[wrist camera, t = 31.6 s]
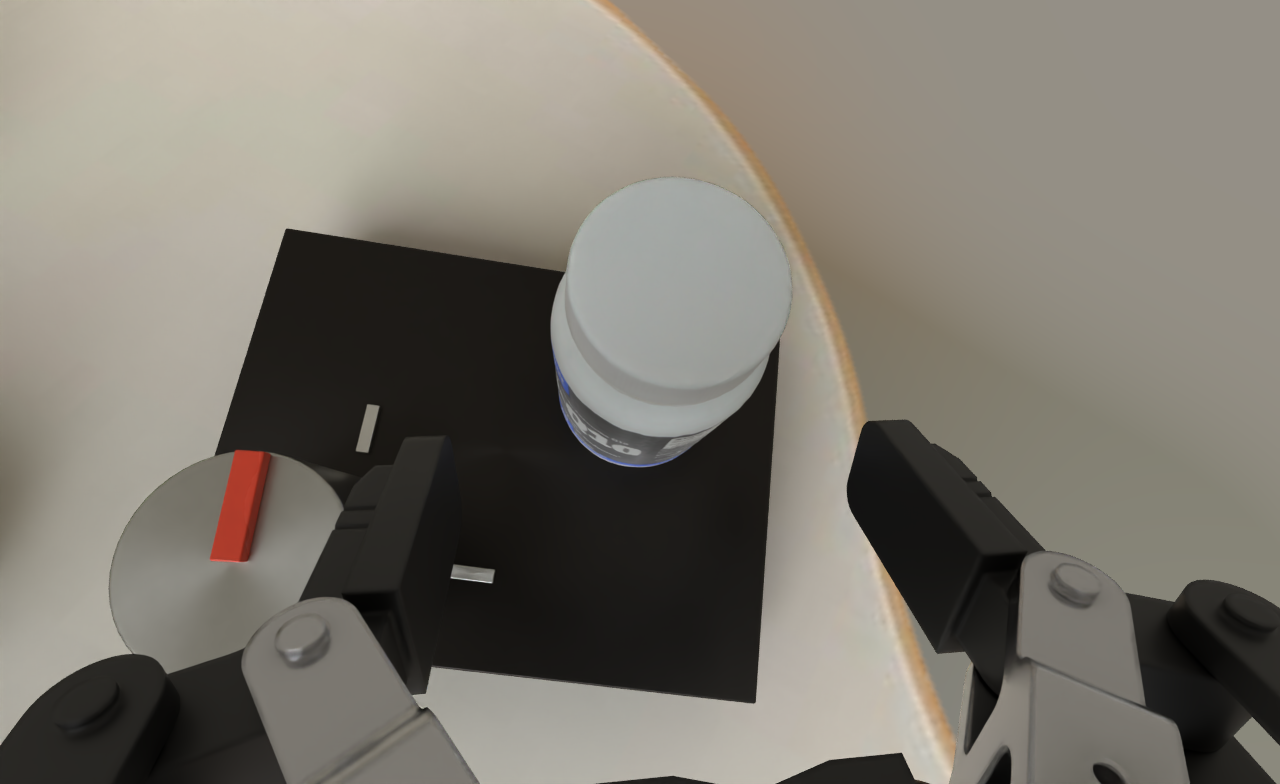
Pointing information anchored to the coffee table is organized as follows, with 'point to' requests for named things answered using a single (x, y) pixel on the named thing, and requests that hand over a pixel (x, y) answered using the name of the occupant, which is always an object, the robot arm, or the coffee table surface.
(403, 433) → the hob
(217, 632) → the knob
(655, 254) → the pill bottle
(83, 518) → the coffee table surface
